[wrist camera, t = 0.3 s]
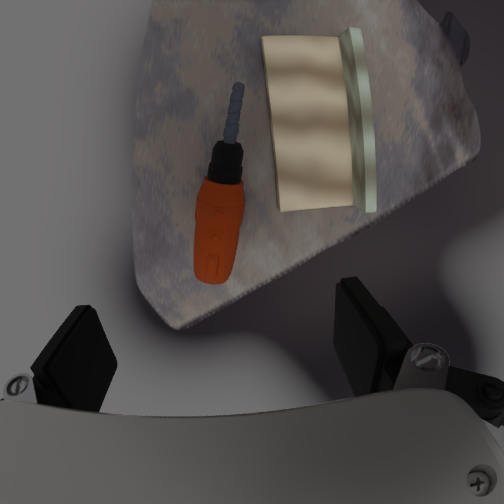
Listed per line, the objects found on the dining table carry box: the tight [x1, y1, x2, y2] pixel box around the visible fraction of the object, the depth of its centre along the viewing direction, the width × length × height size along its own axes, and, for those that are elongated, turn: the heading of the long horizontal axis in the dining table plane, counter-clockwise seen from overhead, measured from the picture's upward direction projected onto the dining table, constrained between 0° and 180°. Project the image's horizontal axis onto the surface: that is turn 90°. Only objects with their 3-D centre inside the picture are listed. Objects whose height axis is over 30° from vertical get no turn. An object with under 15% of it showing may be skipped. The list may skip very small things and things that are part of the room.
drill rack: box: [261, 27, 376, 213], centre depth 31 cm, size 22×11×6 cm, turn 6°
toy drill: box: [194, 82, 245, 284], centre depth 28 cm, size 5×19×15 cm, turn 171°
